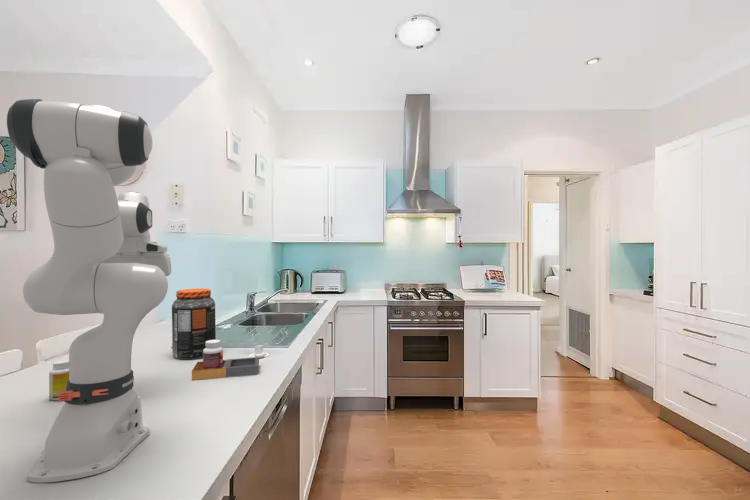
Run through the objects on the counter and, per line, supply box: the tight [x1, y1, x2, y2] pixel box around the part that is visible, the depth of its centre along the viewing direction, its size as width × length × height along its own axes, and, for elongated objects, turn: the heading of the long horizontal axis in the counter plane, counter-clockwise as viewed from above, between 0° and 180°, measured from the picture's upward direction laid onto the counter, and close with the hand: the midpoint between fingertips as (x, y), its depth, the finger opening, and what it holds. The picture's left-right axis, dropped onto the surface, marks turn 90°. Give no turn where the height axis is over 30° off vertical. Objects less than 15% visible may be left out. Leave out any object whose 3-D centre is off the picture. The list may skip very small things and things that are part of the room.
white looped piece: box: [248, 344, 270, 359], centre depth 149 cm, size 9×8×4 cm
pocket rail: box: [191, 356, 260, 381], centre depth 128 cm, size 10×20×3 cm, turn 106°
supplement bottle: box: [48, 359, 69, 401], centre depth 107 cm, size 6×6×10 cm
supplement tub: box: [171, 288, 217, 360], centre depth 150 cm, size 16×16×26 cm
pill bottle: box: [202, 339, 224, 369], centre depth 127 cm, size 6×6×11 cm
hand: (133, 291), depth 114 cm, fingers open, 8 cm apart
